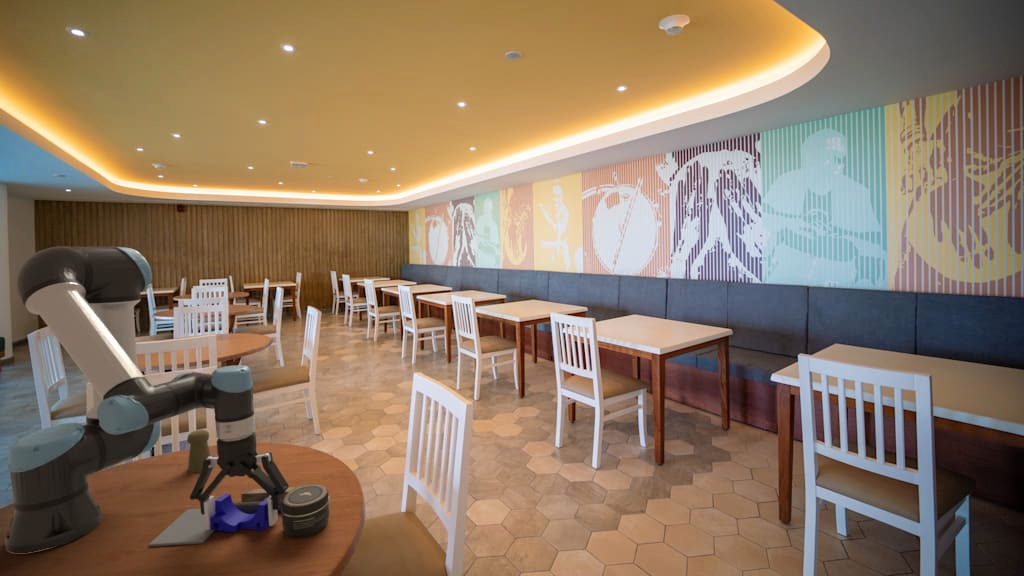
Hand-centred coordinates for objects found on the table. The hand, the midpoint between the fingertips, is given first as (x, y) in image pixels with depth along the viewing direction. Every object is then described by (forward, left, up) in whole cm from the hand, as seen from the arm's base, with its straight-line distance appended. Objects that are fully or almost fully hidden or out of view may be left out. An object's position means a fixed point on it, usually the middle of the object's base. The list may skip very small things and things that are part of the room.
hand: (242, 524), depth 101 cm
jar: (+14, -1, -1) cm, 15 cm away
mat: (-11, +2, -1) cm, 12 cm away
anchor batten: (+2, +11, -1) cm, 11 cm away
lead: (+2, +8, 0) cm, 8 cm away
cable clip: (0, 0, -1) cm, 1 cm away
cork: (-27, +31, -1) cm, 41 cm away
